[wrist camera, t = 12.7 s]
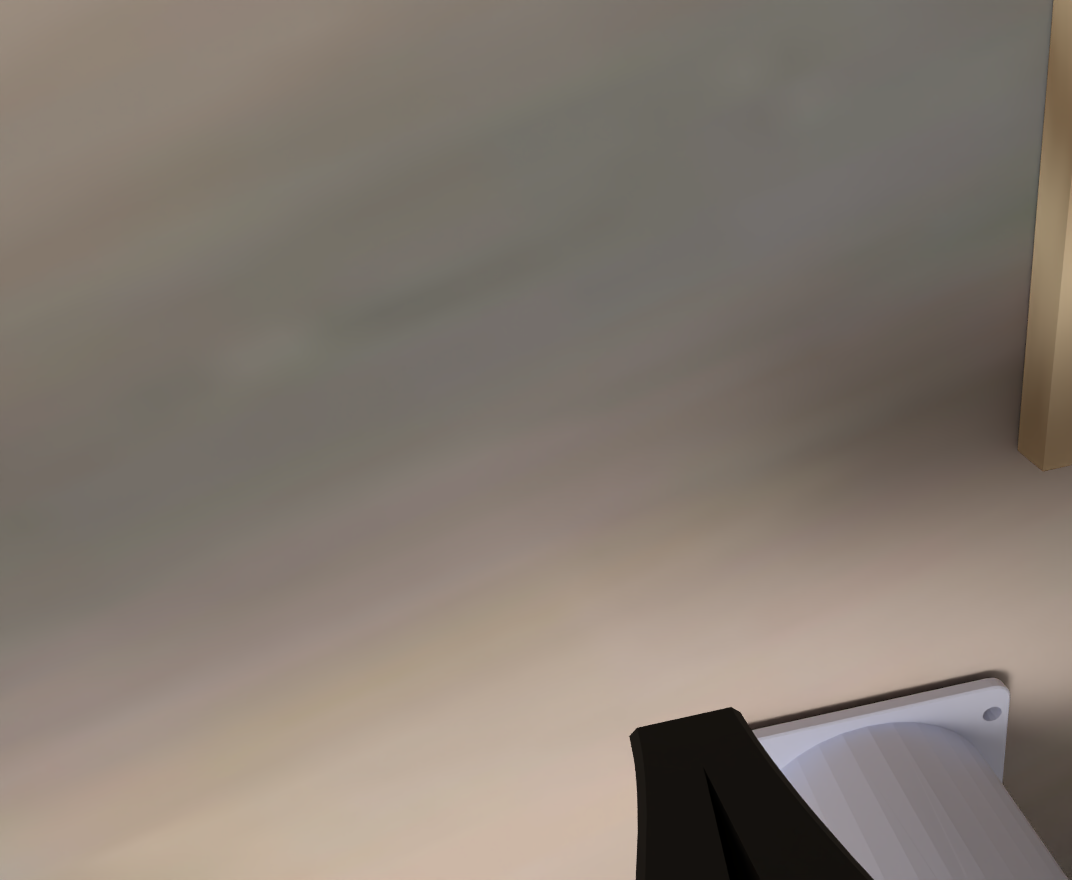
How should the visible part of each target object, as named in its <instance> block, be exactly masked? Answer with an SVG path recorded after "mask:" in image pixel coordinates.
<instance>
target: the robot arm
mask: <svg viewBox="0 0 1072 880" xmlns="http://www.w3.org/2000/svg"><path fill="white" fill-rule="evenodd" d="M1009 704H1010V692H1009V690H1008V688H1007V687H1006V686H1005V685H1004V683H1003V682H1002V681H1001V680H1000V679H996V678H985V679H981V680H976V681H972V682H967V683H963V684H958V685H954V686H949V687H945V688H940V689H936V690H931V691H927V692H922V693H918V694H913V695H909V696H904V697H899V698H895V699H890V700H886V701H881V702H877V703H872V704H868V705H863V706H859V707H854V708H850V709H845V710H841V711H836V712H832V713H827V714H823V715H818V716H813V717H809V718H804V719H800V720H795V721H791V722H786V723H782V724H777V725H773V726H768V727H764V728H759V729H755V730H751V728H750V727H749V725H748V724H747V722H746V721H745V719H744V717H743V716H742V714H741V713H740V712H739V711H737V710H735V709H734V708H732V707H729V708H725V709H720V710H716V711H711V712H707V713H702V714H698V715H693V716H689V717H684V718H680V719H675V720H670V721H666V722H661V723H657V724H652V725H648V726H643V727H639V728H636V730H635V731H634V732H633V733H632V734H631V735H630V736H629V737H630V742H631V747H632V752H633V757H634V763H635V771H636V782H637V805H638V839H637V863H636V880H1069V879H1068V878H1067V877H1066V875H1065V874H1064V872H1063V871H1062V869H1061V868H1060V866H1059V865H1058V864H1057V862H1056V861H1055V859H1054V858H1053V856H1052V855H1051V853H1050V852H1049V851H1048V849H1047V848H1046V846H1045V845H1044V843H1043V842H1042V841H1041V839H1040V838H1039V836H1038V835H1037V833H1036V832H1035V830H1034V829H1033V828H1032V826H1031V825H1030V823H1029V822H1028V820H1027V819H1026V817H1025V816H1024V815H1023V813H1022V812H1021V810H1020V809H1019V807H1018V806H1017V804H1016V803H1015V802H1014V800H1013V799H1012V797H1011V796H1010V794H1009V793H1008V791H1007V790H1006V789H1005V787H1004V786H1003V784H1002V782H1003V771H1004V760H1005V749H1006V737H1007V726H1008V715H1009Z"/></svg>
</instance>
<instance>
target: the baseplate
mask: <svg viewBox="0 0 1072 880" xmlns="http://www.w3.org/2000/svg"><path fill="white" fill-rule="evenodd" d="M1018 451H1019V452H1020V453H1021V454H1023V455H1024V456H1025V457H1026V458H1027V459H1029V460H1030V461H1031V462H1032V463H1033V464H1035V465H1036V466H1037V467H1038V468H1039V469H1041V470H1042V471H1047V470H1052V469H1056V468H1061V467H1065V466H1070V465H1072V0H1054V2H1053V14H1052V27H1051V39H1050V52H1049V64H1048V77H1047V89H1046V102H1045V114H1044V127H1043V139H1042V152H1041V164H1040V176H1039V189H1038V201H1037V214H1036V226H1035V239H1034V251H1033V264H1032V276H1031V289H1030V301H1029V314H1028V326H1027V338H1026V351H1025V363H1024V376H1023V388H1022V401H1021V413H1020V426H1019V438H1018Z"/></svg>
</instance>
